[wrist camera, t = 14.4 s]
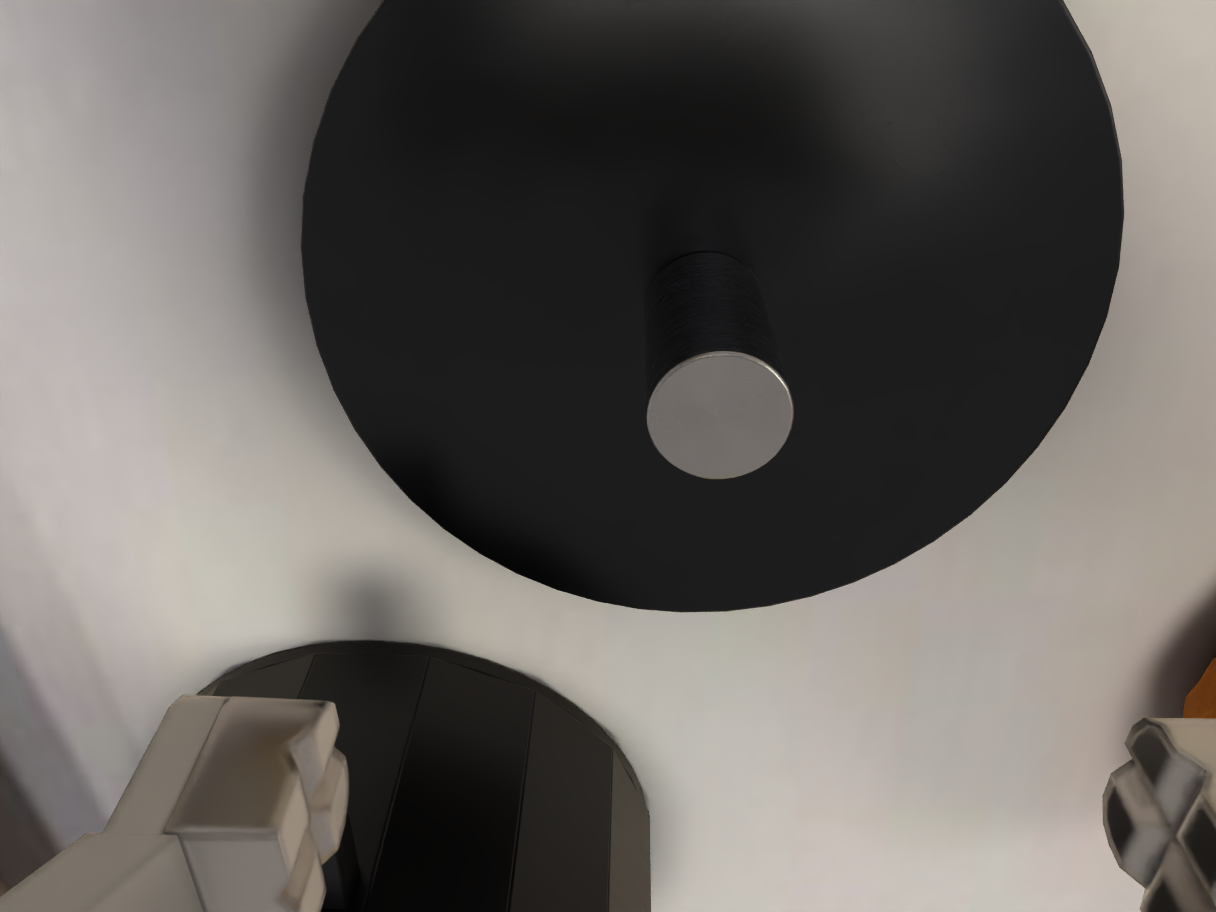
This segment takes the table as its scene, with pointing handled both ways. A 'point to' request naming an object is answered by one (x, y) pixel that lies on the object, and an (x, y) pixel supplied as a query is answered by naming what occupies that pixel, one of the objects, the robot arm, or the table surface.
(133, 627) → the table surface
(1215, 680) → the bread
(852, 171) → the lid
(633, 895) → the pot
